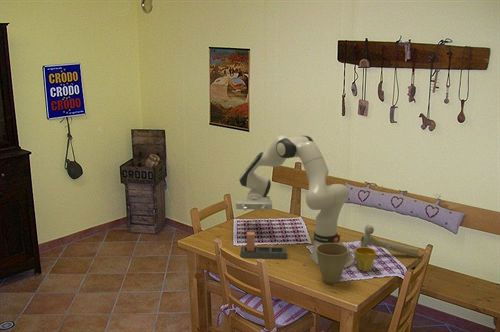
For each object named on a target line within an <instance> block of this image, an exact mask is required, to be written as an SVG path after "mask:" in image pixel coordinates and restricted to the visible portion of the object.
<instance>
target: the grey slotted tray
mask: <svg viewBox="0 0 500 332" xmlns="http://www.w3.org/2000/svg"><path fill="white" fill-rule="evenodd" d="M287 255H288V250H287V247H286V246H285V247H283V246H255V250H254V252H251V251H247V245H246V246H245V245H241V246H240V256H241V257H242V258H243V259H248V258H249V259H275V260H276V259H277V260H279V259H280V260H287V258H288V257H287Z"/></svg>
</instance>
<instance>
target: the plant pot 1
mask: <svg viewBox="0 0 500 332" xmlns="http://www.w3.org/2000/svg"><path fill="white" fill-rule="evenodd" d="M344 245H345V244H344ZM344 245H341V244H337V243H323V244H320V245H318V246H317V248H316V250H317V258H318V263H319V264H318V267H319V271H320V274H321V277H322V280H323V281H324V282H326V283H327V284H336V283H338V282H340V279H341V276H342V275H343V272H344V269H345V268H344V267H345V263H346V260H347V255H348V248H349V247H348V246H347V245H345V246H344ZM346 246H347V247H348V248H347V247H346Z"/></svg>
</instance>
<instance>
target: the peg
mask: <svg viewBox="0 0 500 332" xmlns="http://www.w3.org/2000/svg"><path fill="white" fill-rule="evenodd" d="M255 237H256V232H255V231H247V232H246V246H247V251H251V252H254V250H255V247H256V245H255V244H256V243H255V240H256V238H255Z"/></svg>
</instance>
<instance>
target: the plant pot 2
mask: <svg viewBox="0 0 500 332" xmlns="http://www.w3.org/2000/svg"><path fill="white" fill-rule="evenodd" d="M376 258H377V251H376V250H375V249H374V248H372V247H367V246H366V247H361V246H359V247H356V248H355V249H354V259H355V262H356V269H357V270H358V269H359V271H360V270H362V271H361V272H363V271H368V272H370V271H371V270H372V268H373V264H374V262H375V261H374V260H376ZM369 270H370V271H369Z"/></svg>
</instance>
